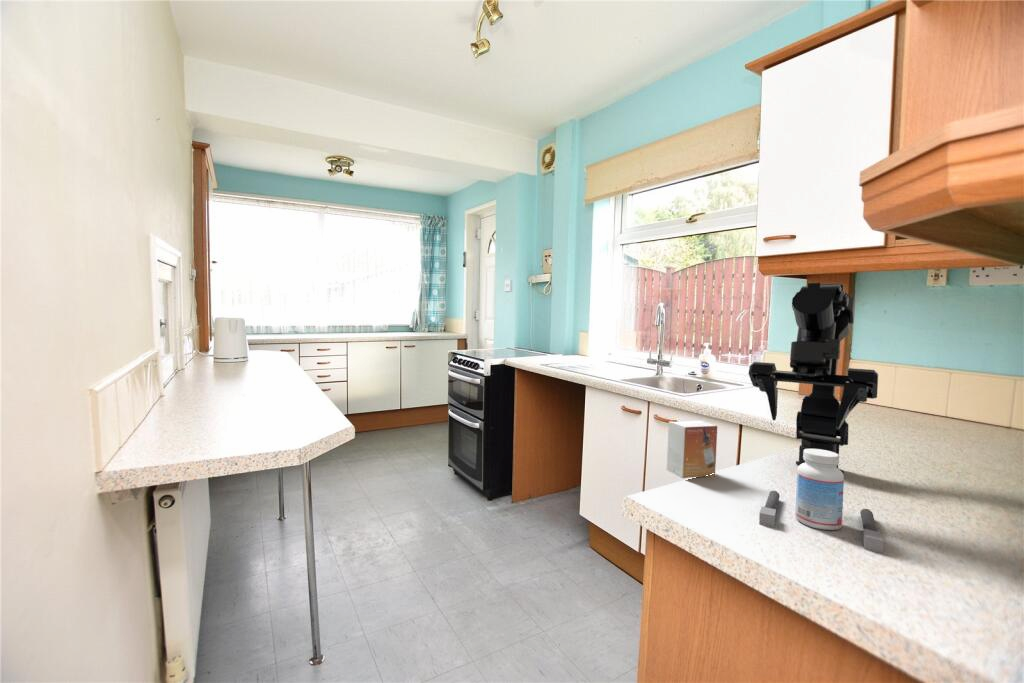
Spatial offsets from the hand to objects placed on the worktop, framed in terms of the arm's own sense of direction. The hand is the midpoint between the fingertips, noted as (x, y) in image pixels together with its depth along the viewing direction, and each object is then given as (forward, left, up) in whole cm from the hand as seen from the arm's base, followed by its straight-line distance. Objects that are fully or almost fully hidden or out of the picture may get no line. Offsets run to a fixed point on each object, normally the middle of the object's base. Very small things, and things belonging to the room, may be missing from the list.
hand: (804, 423), depth 77 cm
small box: (+12, -17, -15) cm, 25 cm away
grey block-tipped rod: (+7, +2, -14) cm, 16 cm away
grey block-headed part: (-4, +10, -14) cm, 18 cm away
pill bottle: (+2, +6, -14) cm, 16 cm away
